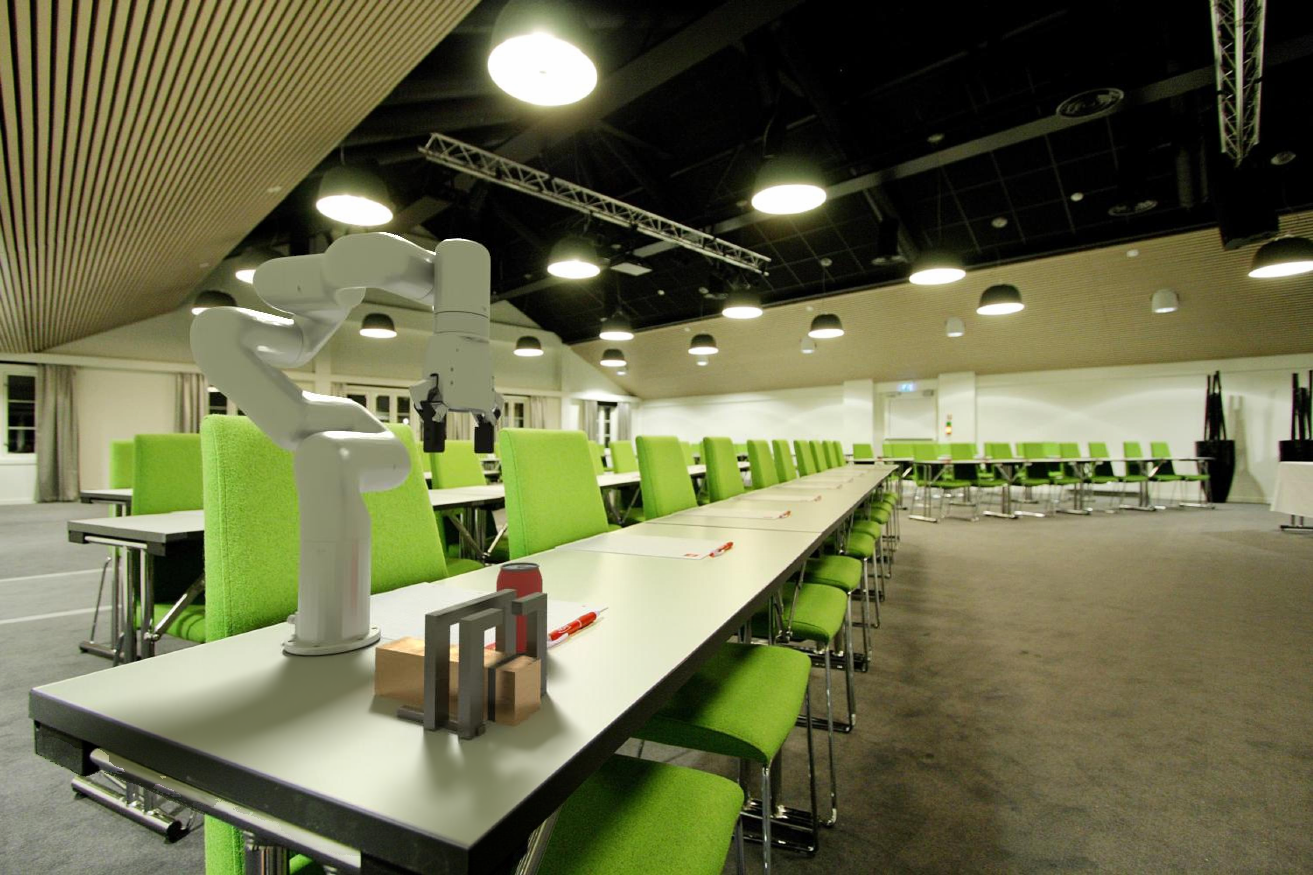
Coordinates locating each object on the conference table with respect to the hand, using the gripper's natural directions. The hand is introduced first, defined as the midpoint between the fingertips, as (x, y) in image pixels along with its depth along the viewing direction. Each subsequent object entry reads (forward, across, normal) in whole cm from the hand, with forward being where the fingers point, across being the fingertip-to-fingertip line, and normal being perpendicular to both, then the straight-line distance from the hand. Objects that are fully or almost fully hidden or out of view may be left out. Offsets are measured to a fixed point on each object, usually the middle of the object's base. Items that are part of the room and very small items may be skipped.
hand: (460, 453), depth 81 cm
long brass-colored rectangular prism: (+28, +11, +10) cm, 32 cm away
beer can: (+28, -7, +5) cm, 30 cm away
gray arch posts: (+28, +11, +12) cm, 33 cm away
